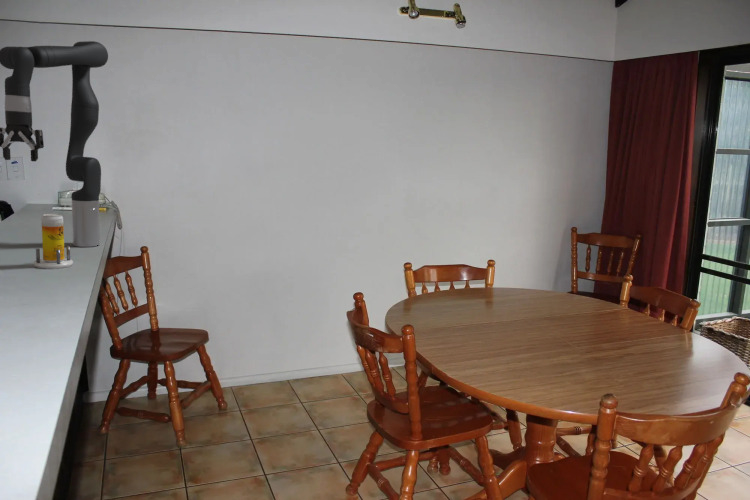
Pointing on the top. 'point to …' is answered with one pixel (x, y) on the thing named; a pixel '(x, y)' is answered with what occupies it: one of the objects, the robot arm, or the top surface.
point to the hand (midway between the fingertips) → (20, 160)
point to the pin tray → (42, 264)
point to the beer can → (52, 237)
